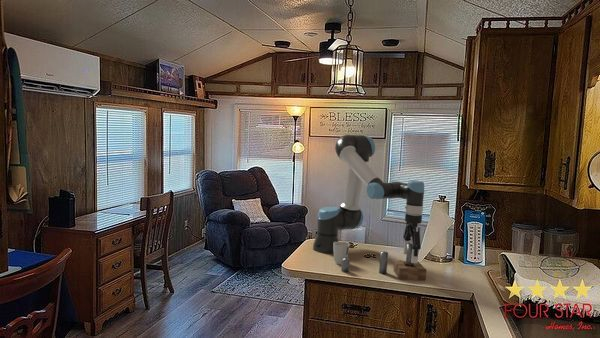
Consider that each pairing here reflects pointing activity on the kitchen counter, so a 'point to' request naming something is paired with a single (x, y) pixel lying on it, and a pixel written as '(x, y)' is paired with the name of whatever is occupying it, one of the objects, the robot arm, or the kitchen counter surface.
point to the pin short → (345, 264)
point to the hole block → (409, 271)
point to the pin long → (409, 255)
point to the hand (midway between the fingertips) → (410, 258)
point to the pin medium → (383, 262)
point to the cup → (340, 251)
